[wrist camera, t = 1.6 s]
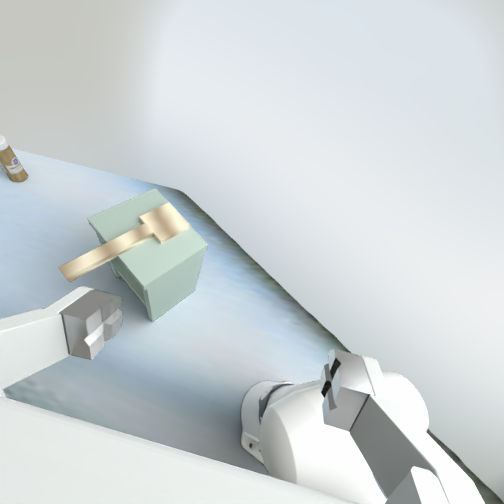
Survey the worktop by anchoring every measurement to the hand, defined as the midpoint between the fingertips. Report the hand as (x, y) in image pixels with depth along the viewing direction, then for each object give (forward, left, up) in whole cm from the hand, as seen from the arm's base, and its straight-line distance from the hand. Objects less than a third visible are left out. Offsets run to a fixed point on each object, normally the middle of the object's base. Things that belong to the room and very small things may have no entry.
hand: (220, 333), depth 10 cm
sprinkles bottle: (+78, -2, -62) cm, 100 cm away
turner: (+26, -8, -36) cm, 45 cm away
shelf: (+26, -12, -62) cm, 69 cm away
